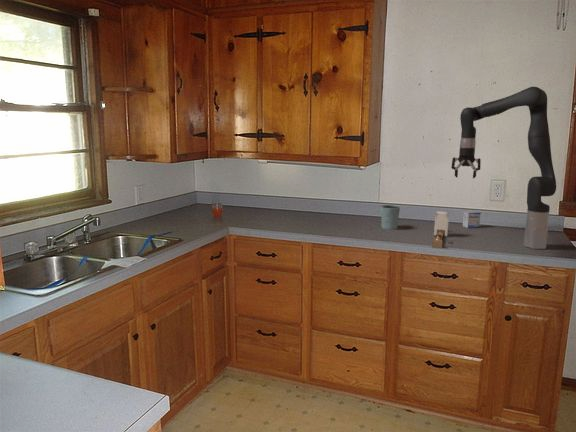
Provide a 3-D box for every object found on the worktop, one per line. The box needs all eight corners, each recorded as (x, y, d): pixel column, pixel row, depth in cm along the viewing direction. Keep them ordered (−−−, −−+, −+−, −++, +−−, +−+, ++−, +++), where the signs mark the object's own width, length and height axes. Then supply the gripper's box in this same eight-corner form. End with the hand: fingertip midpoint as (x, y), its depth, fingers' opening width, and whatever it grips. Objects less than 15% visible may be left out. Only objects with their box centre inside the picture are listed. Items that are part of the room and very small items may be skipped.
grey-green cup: (385, 230, 269) (386, 208, 267) (376, 226, 279) (377, 205, 276) (402, 229, 272) (403, 207, 269) (393, 225, 281) (394, 204, 279)
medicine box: (467, 228, 275) (468, 212, 274) (462, 226, 280) (463, 211, 278) (479, 227, 278) (481, 212, 276) (474, 225, 282) (475, 210, 280)
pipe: (437, 230, 271) (438, 224, 270) (454, 231, 268) (455, 225, 267) (432, 247, 236) (432, 240, 235) (451, 249, 233) (451, 242, 232)
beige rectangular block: (434, 233, 262) (436, 211, 260) (447, 234, 260) (449, 212, 258) (433, 235, 258) (435, 212, 255) (446, 236, 255) (448, 213, 253)
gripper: (482, 146, 262) (479, 177, 265) (454, 145, 268) (451, 176, 271) (481, 147, 255) (478, 179, 258) (452, 146, 261) (450, 177, 264)
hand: (465, 177), depth 265 cm, fingers open, 8 cm apart
